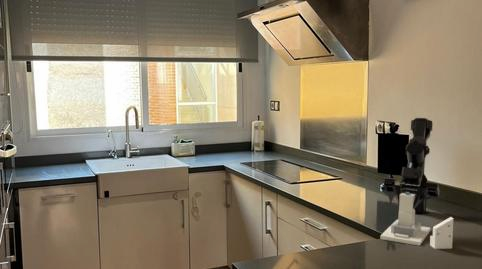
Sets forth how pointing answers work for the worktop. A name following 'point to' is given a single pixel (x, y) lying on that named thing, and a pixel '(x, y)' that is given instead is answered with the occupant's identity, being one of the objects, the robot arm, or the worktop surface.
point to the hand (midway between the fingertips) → (406, 207)
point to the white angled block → (442, 235)
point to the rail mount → (406, 233)
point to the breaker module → (406, 210)
